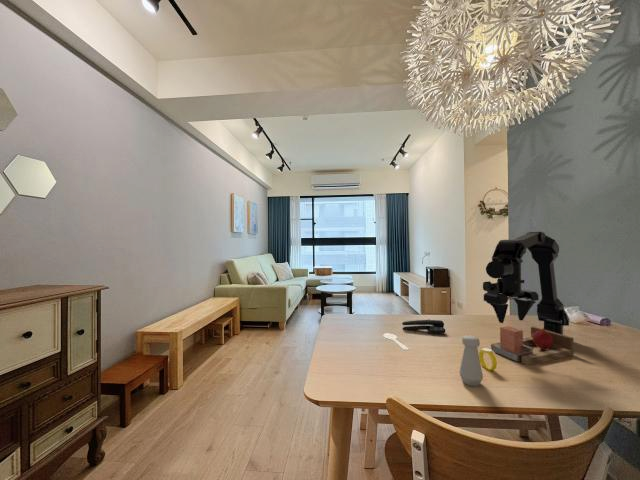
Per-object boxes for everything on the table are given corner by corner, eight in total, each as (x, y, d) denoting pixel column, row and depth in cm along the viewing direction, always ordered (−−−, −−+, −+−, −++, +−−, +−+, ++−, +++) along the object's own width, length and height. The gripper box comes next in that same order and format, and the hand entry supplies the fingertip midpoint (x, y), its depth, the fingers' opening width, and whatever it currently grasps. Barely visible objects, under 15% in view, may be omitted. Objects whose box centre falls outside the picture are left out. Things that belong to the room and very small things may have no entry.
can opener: (444, 331, 120) (444, 318, 120) (446, 336, 114) (446, 323, 114) (402, 327, 126) (402, 315, 126) (401, 332, 119) (401, 319, 119)
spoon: (400, 351, 99) (400, 349, 99) (380, 334, 117) (380, 333, 117) (413, 350, 100) (413, 348, 100) (392, 333, 118) (392, 332, 118)
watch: (477, 365, 88) (475, 346, 88) (484, 364, 88) (483, 345, 89) (491, 373, 82) (490, 352, 82) (499, 372, 82) (498, 352, 83)
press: (508, 348, 99) (508, 324, 99) (532, 358, 91) (532, 331, 91) (493, 351, 97) (493, 326, 97) (517, 361, 89) (517, 334, 89)
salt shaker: (455, 377, 80) (454, 333, 80) (473, 376, 80) (473, 332, 80) (467, 388, 74) (467, 340, 74) (487, 387, 74) (487, 340, 74)
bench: (533, 341, 106) (533, 326, 106) (573, 355, 94) (573, 337, 94) (491, 349, 100) (490, 332, 100) (527, 364, 87) (527, 346, 87)
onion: (557, 353, 95) (557, 331, 95) (538, 352, 96) (538, 330, 96) (547, 347, 101) (546, 325, 101) (529, 346, 102) (529, 324, 102)
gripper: (508, 272, 104) (508, 313, 104) (470, 274, 99) (470, 317, 99) (539, 276, 94) (539, 321, 94) (498, 278, 88) (499, 327, 88)
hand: (511, 321), depth 94 cm, fingers open, 9 cm apart
